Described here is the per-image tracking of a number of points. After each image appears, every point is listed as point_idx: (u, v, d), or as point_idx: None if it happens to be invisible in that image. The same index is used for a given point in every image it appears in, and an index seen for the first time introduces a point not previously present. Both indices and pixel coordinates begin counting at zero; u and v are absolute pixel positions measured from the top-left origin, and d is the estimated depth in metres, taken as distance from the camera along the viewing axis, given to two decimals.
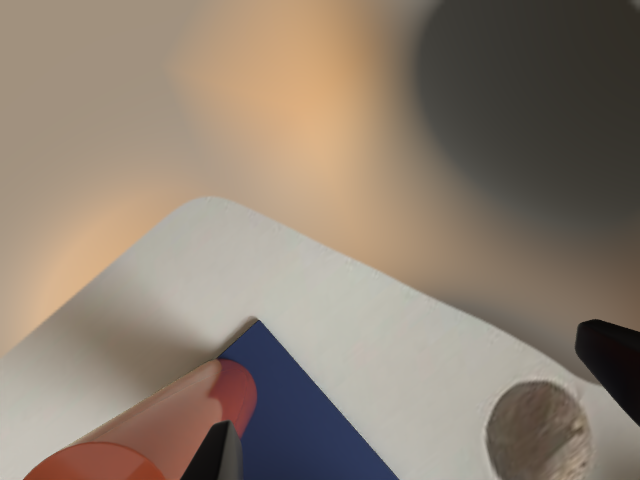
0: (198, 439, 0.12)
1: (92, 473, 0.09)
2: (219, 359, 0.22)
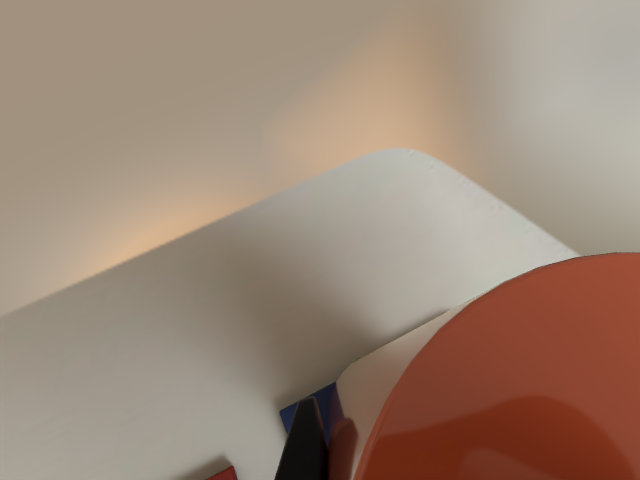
0: None
1: None
2: None
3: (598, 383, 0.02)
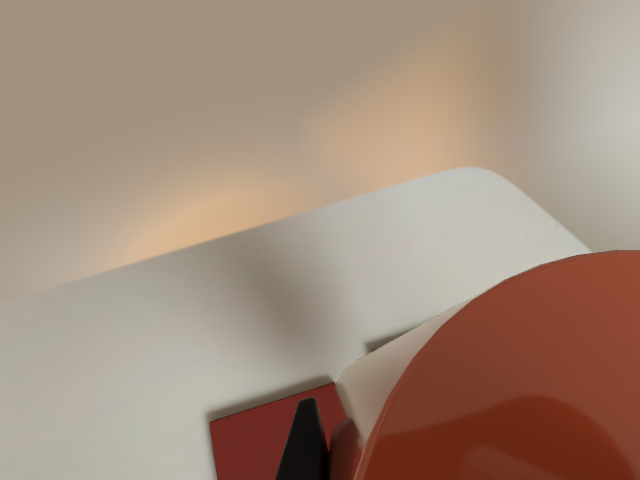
0: None
1: None
2: None
3: (598, 377, 0.02)
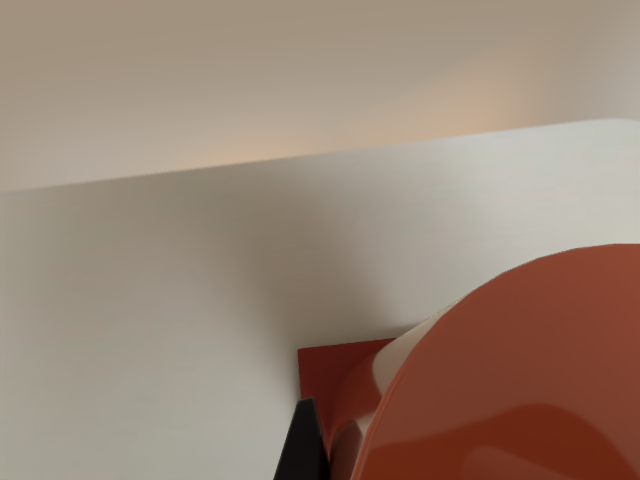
0: None
1: None
2: None
3: (597, 369, 0.02)
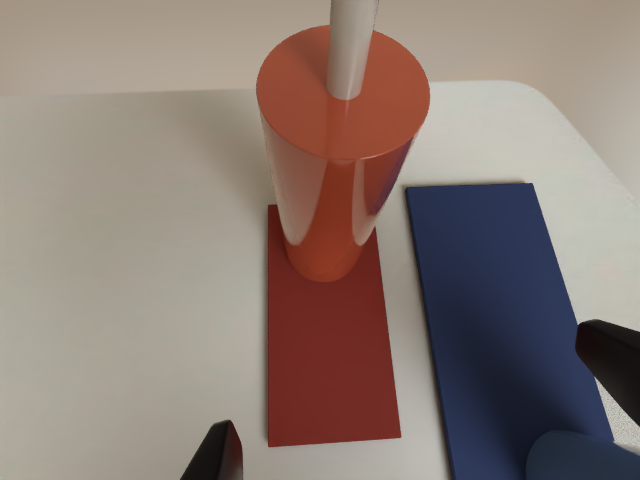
0: None
1: None
2: None
3: (325, 45, 0.10)
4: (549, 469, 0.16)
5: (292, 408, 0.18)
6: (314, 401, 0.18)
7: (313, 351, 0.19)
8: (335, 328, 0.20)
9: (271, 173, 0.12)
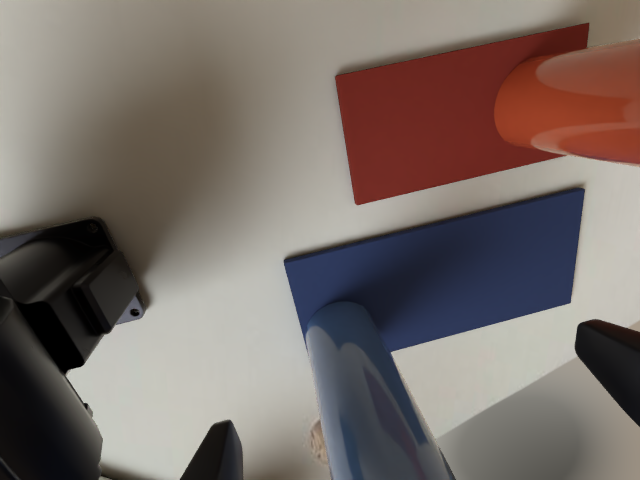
0: None
1: None
2: None
3: None
4: (358, 317, 0.20)
5: (372, 96, 0.18)
6: (380, 118, 0.18)
7: (425, 109, 0.18)
8: (447, 130, 0.19)
9: None
